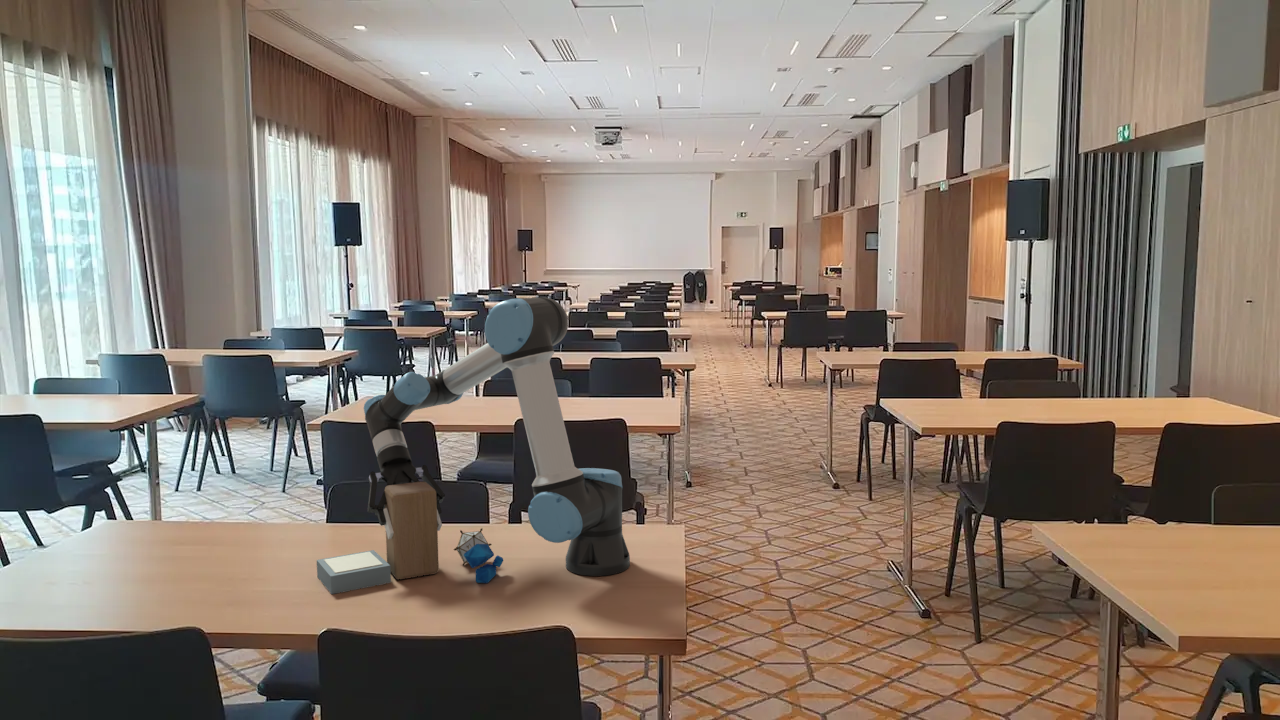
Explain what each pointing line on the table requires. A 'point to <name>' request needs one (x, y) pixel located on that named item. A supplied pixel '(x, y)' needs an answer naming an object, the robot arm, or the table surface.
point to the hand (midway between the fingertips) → (415, 532)
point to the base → (353, 571)
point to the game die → (469, 542)
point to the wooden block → (412, 529)
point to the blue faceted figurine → (480, 556)
